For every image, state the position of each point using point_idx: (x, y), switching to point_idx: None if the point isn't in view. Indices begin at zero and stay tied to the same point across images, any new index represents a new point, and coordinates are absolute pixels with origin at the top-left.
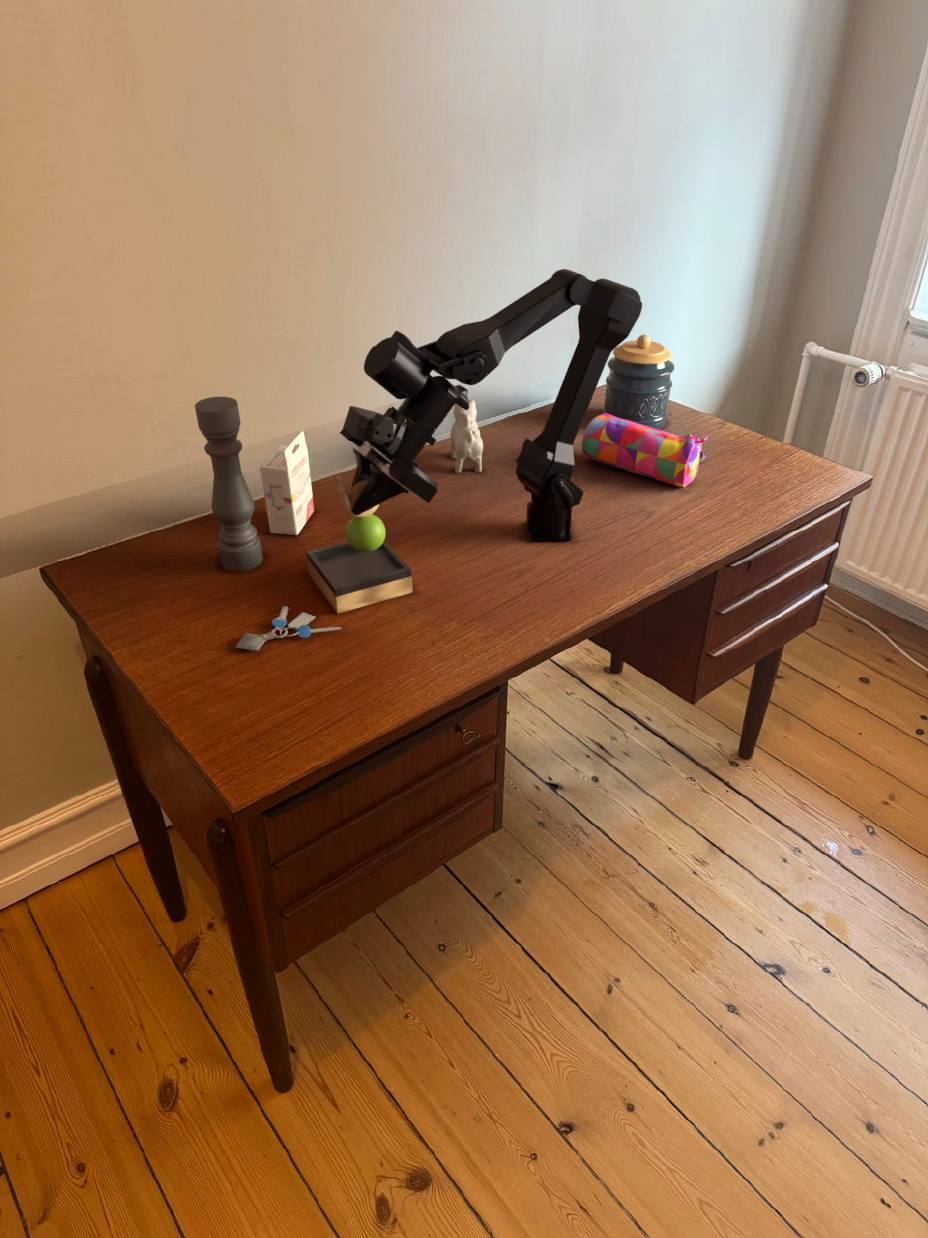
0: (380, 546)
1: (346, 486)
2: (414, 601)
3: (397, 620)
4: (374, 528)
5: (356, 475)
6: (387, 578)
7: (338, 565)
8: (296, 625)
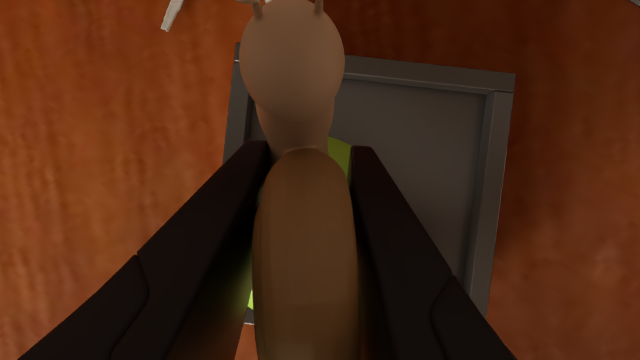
0: None
1: (267, 98)
2: None
3: (134, 187)
4: None
5: (457, 337)
6: None
7: (400, 143)
8: None
